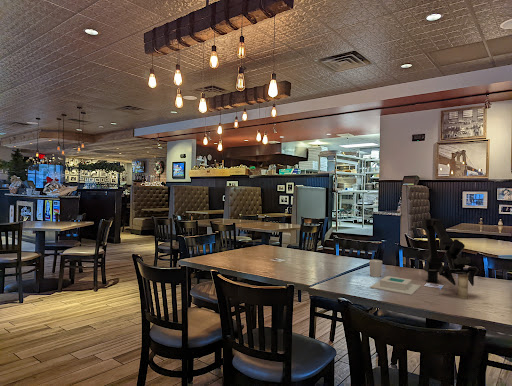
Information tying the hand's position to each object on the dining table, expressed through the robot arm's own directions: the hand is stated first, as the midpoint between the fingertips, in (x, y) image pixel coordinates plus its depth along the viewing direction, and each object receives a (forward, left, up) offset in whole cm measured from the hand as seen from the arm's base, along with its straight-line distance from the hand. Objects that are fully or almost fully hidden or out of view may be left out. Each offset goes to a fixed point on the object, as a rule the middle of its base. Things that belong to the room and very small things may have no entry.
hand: (464, 285), depth 183 cm
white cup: (-19, -52, -7) cm, 56 cm away
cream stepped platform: (+1, -34, -7) cm, 34 cm away
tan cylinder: (-1, -1, -7) cm, 7 cm away
